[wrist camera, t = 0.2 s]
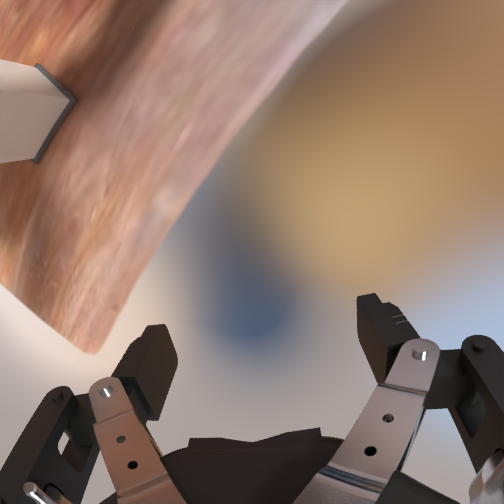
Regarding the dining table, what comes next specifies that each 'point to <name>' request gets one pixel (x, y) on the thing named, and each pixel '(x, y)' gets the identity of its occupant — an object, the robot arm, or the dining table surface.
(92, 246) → the dining table surface
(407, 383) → the robot arm
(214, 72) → the dining table surface
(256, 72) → the dining table surface
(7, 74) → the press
